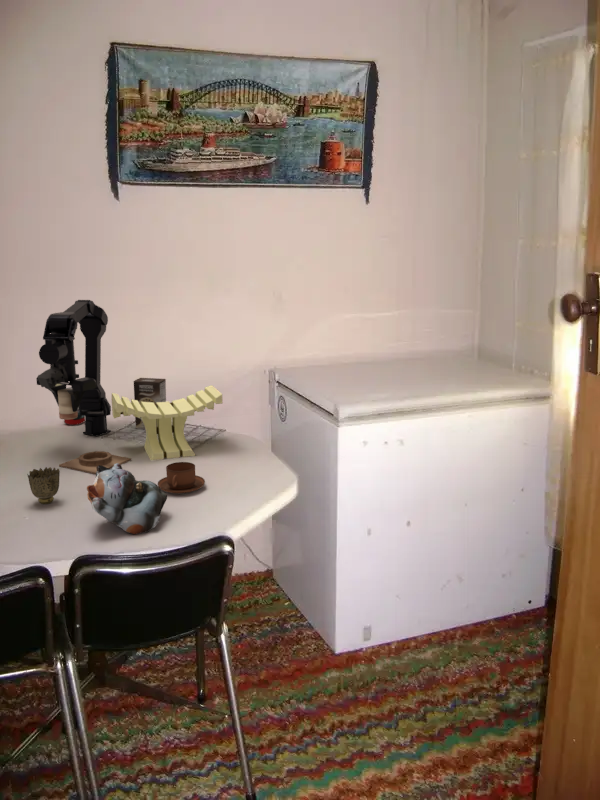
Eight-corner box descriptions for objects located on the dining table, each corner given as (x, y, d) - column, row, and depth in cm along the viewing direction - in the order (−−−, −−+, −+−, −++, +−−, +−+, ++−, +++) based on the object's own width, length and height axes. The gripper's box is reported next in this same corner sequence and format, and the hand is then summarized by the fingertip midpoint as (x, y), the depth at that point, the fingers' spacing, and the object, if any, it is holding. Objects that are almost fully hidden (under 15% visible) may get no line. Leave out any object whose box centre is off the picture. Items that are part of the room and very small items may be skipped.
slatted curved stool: (211, 438, 237) (209, 383, 233) (223, 452, 222) (222, 394, 218) (114, 447, 227) (110, 390, 223) (120, 463, 212) (117, 402, 208)
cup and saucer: (206, 496, 188) (205, 472, 187) (157, 498, 186) (156, 475, 185) (204, 479, 200) (203, 457, 198) (158, 482, 198) (157, 460, 196)
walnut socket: (95, 453, 222) (94, 446, 221) (131, 460, 215) (130, 453, 214) (59, 466, 210) (58, 459, 209) (96, 474, 203) (95, 467, 203)
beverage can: (81, 426, 250) (79, 391, 248) (61, 426, 251) (58, 391, 248) (87, 420, 257) (85, 386, 254) (68, 420, 257) (65, 386, 254)
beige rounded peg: (69, 414, 222) (67, 388, 220) (81, 416, 220) (79, 389, 218) (55, 418, 218) (53, 391, 216) (68, 420, 215) (66, 393, 214)
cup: (37, 496, 187) (34, 466, 185) (66, 497, 187) (63, 466, 185) (25, 508, 180) (22, 476, 178) (55, 508, 180) (53, 476, 178)
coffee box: (135, 428, 247) (132, 381, 243) (142, 423, 253) (139, 377, 249) (161, 430, 246) (159, 382, 242) (168, 424, 252) (165, 377, 248)
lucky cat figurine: (151, 538, 163) (112, 483, 157) (104, 553, 168) (64, 500, 162) (177, 491, 177) (141, 439, 171) (132, 506, 182) (96, 456, 176)
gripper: (19, 359, 212) (23, 412, 216) (65, 365, 203) (70, 421, 207) (49, 353, 222) (54, 404, 225) (95, 359, 213) (99, 412, 216)
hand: (68, 410), depth 218 cm, fingers closed on beige rounded peg, 5 cm apart
